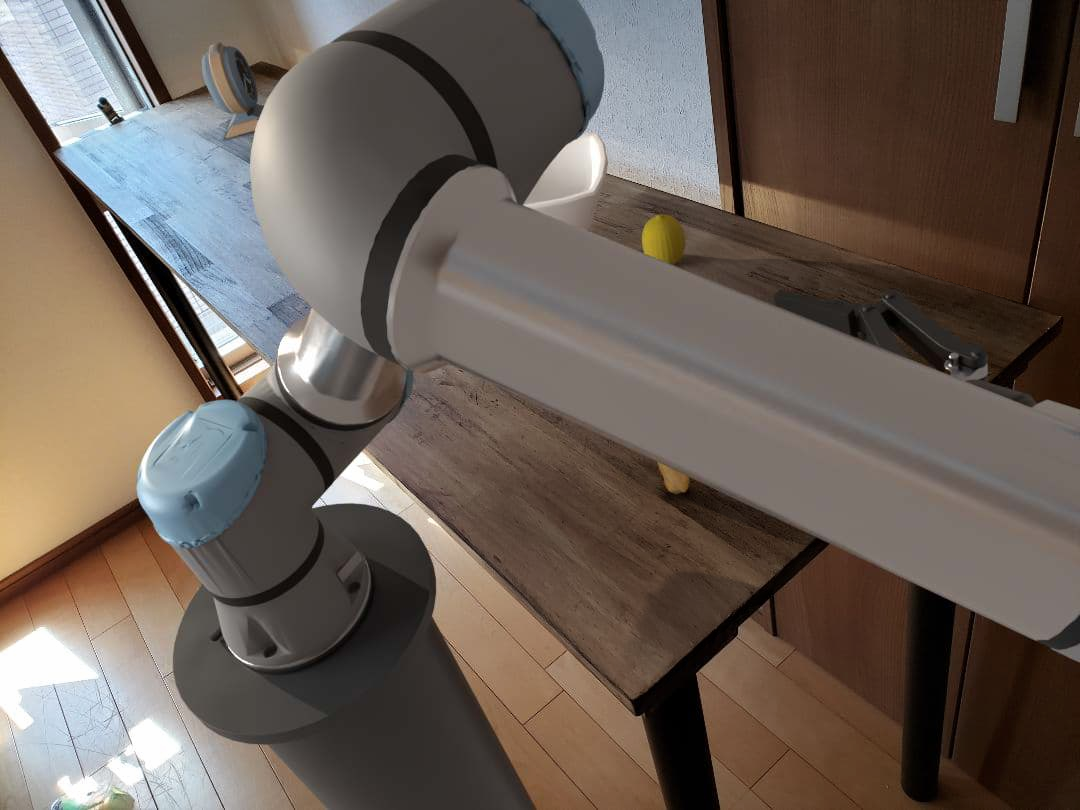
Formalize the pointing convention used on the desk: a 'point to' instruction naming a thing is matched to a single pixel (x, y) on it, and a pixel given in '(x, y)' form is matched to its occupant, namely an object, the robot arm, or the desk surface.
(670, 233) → the lemon
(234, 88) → the alarm clock
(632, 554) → the desk surface
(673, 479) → the stone tool
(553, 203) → the bowl
